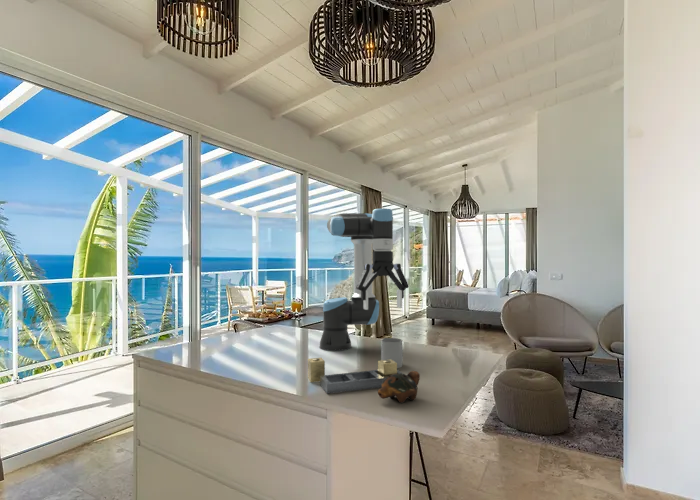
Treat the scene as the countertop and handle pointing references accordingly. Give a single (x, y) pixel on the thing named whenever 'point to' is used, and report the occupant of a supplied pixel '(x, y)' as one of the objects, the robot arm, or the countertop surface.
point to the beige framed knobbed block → (387, 368)
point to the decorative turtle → (400, 386)
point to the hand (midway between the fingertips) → (382, 308)
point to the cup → (392, 350)
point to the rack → (352, 381)
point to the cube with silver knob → (315, 369)
